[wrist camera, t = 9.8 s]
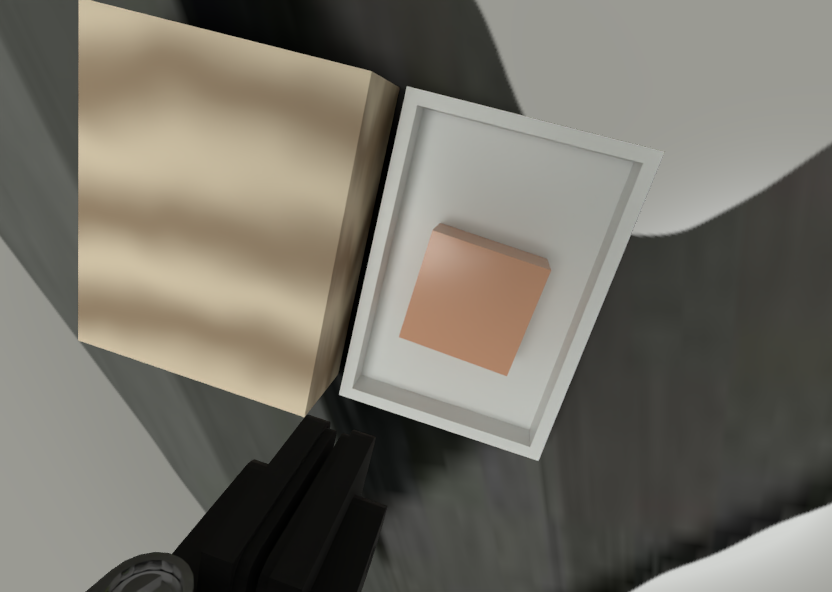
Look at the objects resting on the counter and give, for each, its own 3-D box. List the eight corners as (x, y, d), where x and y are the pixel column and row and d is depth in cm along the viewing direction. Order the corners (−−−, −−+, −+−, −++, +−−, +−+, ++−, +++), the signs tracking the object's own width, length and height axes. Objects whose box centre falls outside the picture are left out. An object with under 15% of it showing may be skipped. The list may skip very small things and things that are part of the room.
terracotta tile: (551, 270, 26) (547, 258, 29) (432, 230, 26) (440, 222, 29) (506, 376, 28) (507, 356, 31) (398, 336, 29) (408, 320, 32)
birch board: (160, 26, 30) (78, -3, 24) (399, 87, 28) (371, 71, 22) (145, 311, 36) (78, 340, 31) (337, 374, 35) (304, 417, 29)
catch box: (415, 91, 28) (406, 86, 25) (651, 151, 26) (664, 151, 24) (350, 378, 34) (338, 394, 32) (536, 438, 33) (538, 460, 31)
